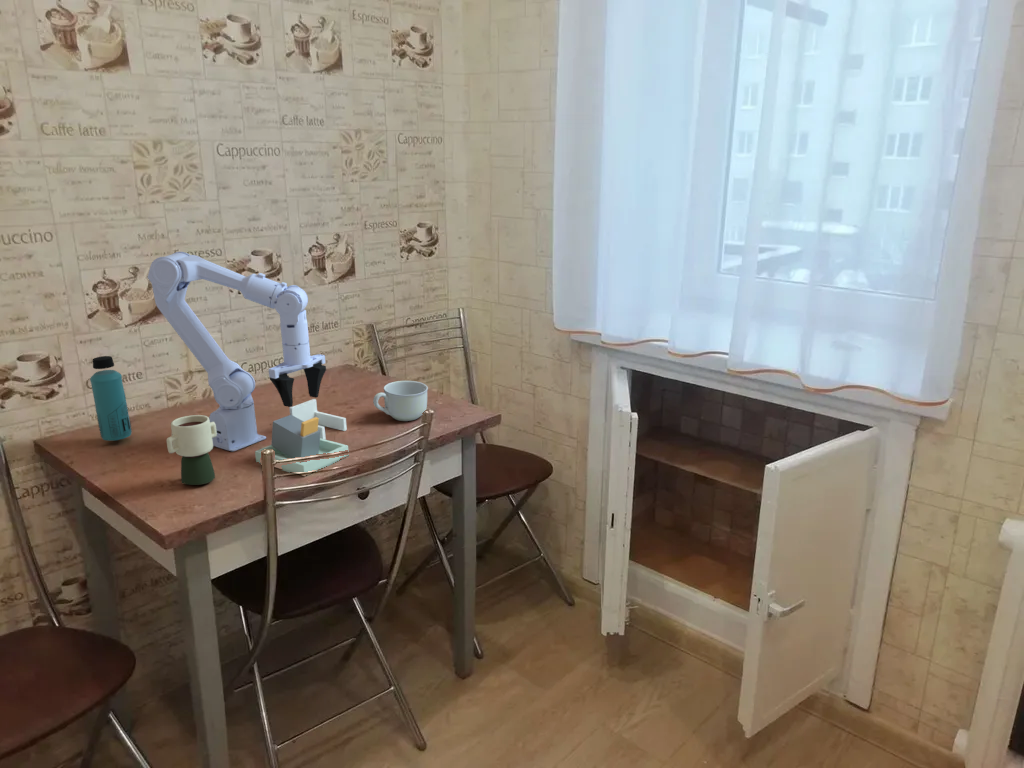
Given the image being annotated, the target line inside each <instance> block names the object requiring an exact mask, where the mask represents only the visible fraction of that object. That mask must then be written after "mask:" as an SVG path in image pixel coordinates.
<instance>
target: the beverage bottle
mask: <svg viewBox="0 0 1024 768" xmlns="http://www.w3.org/2000/svg"><path fill="white" fill-rule="evenodd" d="M114 366H115V363H114V360H113V356H109V355H103V356H101V355H100V356H97V357H94V358H93V359H92V368H93V369H95V370H98V371H95V373H93V375H91V376H90V378H89V380H90V381H89V382H90V386H91V389H92V390H91V391H92V395H93V401H94V409H95V413H96V420H97V424H98V430H99V434H100V437H101V439H102V440H103V441H108V442H110V441H119V440H124V439H127V438H129V437H130V436H132V431H133V429H132V422H131V419H130V414H129V409H128V408H129V407H128V403H127V397H126V392H125V388H124V383H123V376H122V374H121V373H120V372H119V371H117V370H114V369H110V368H113V367H114ZM103 369H104V370H103ZM99 370H100V371H99Z"/></svg>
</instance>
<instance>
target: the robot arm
mask: <svg viewBox="0 0 1024 768" xmlns="http://www.w3.org/2000/svg"><path fill="white" fill-rule="evenodd" d="M147 274H148V275H147V280H149V282H150V283H151V288H152V292H153V298H154V301H155V305H156V307H157V309H158V310H159V312H160V313H161V314H162V315H163V316H164V318H165V319H166V320H167V322H168V323H169V324H170V326H171V327H172V328H173V330H174V331H175V332H176V333H177V335H178V337H180V338H181V340H182V341H183V343H184V344H185V346H187V348H188V349H189V351H190V352H191V353H192V354H193V356H194V357H195V359H196V360H197V361H198V362H199V364H200V365H201V367H203V369H204V370H205V372H206V373H207V383H208V386H209V388H211V390H212V392H213V398H214V400H215V402H216V403H217V404H218V405H219V407H218V408H217V409H216V410H214V411H212V412H211V413H210V414H209V416H208V417H209V420H210V422H215V424H216V430H217V436H216V437H214V438H212V441H213V447H214V448H215V447H216V448H218V449H222V450H225V451H230V452H236V451H238V450H241V449H243V448H246V447H249V446H250V445H253V444H256V443H259V442H261V441H264V440H267V436H265V435H261V434H259V433H258V428H257V419H256V412H255V410H256V408H255V402H254V398H253V397H252V393H253V392H254V391H255V388H256V381H255V378H254V376H252V374H251V373H250V372H248V371H246V370H244V369H243V368H242V367H241V365H239V363H237V362H236V361H233V360H231V359H230V358H228V356H227V355H226V354H225V352H224V350H223V349H222V348H221V346H220V345H219V344H218V343H217V342H216V340H215V339H214V337H213V336H212V335H211V333H210V331H208V329H207V328H206V326H205V325H204V324H203V323H202V321H201V320H200V318H198V316H197V315H196V313H195V312H194V311H193V309H192V308H191V307H190V305H189V304H188V303H187V301H186V296H187V290H188V287H189V286H190V284H191V282H194V281H198V280H205V281H209V282H210V283H214V284H218V285H221V286H224V287H227V288H231V289H233V290H237V291H239V292H240V293H241V295H242V296H243V298H244V299H246V300H248V301H251V302H254V303H256V304H259V305H262V306H264V307H267V308H270V309H273V310H274V309H275V311H276V312H277V314H278V315H279V320H280V321H279V325H280V326H279V327H280V335H281V336H280V337H281V347H282V355H283V362H281V363H279V364H278V365H276V366H273V367H270V368H268V378H269V379H270V380H269V381H271V383H272V384H273V385H274V387H275V388H276V391H277V392H278V394H279V397H280V399H281V401H282V404H283V406H284V407H288V408H290V407H293V406H294V405H293V404H294V403H293V402H294V400H293V399H294V398H293V388H294V387H293V386H294V382H295V378H294V377H290V375H288V374H292V373H295V372H298V371H302V370H303V371H304V374H305V378H306V382H307V388H308V395H309V397H311V398H314V399H316V398H319V394H320V387H321V383H322V380H323V377H324V375H325V373H326V371H327V366H326V365H324V364H326V355H325V354H319V353H318V354H314V355H311V349H310V347H311V346H310V338H309V336H310V335H309V325H308V319H307V310H306V307H307V306H308V302H309V296H308V294H307V292H306V291H305V290H304V289H303V288H302V287H299V285H296V284H292V285H289V286H288V285H287V284H288V283H287V282H284V281H282V282H278V281H275V280H273V279H269V278H267V277H266V273H265V274H264V273H262V272H258V274H256V273H252V274H249V275H243V274H241V273H238V272H236V271H234V270H231V269H229V268H226V267H224V266H221V265H219V264H217V263H214V262H212V261H210V260H207V259H205V258H204V257H203V258H202V257H201V256H199V255H195V254H190V253H187V252H184V251H176V252H174V253H172V254H168V255H166V256H159V257H156V258H155V259H154V260H153V261H152V262H151V264H150V267H149V269H148V273H147ZM211 433H212V432H211Z"/></svg>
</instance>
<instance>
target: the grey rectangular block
mask: <svg viewBox="0 0 1024 768" xmlns="http://www.w3.org/2000/svg"><path fill="white" fill-rule="evenodd" d="M318 421H319V418H317V417H315V418H312V419H309V420H307V421H302V420H300V419H298V418H296V417H295V416H293V415H290V414H289V415H287V416H283V417H281V418H279V419H276V420H275V419H274V420H272V429H271V430H272V431H271V444H270V445H271V446H273V447H274V448H276V449H278V450H279V451H281V452H283V453H284V454H286V455H288V456H290V457H291V458H295V457H305V456H310V455H316V454H319V444H320V433H321V431H320V430H318ZM301 463H302V462H301Z"/></svg>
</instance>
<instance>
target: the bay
mask: <svg viewBox="0 0 1024 768" xmlns="http://www.w3.org/2000/svg"><path fill="white" fill-rule="evenodd" d="M288 408H289V415H293V416H295V417H296V418H298V419H300V420H302V421H307V420H309V419H312V418H315V417H317V418H319V421H318V430H320V431H321V433H320V438H322V439H325V440H327V438H326V430H325V427H327V428H330V429H334V430H340V431H343V432H345V431H347V418H346V417H343V416H339V415H335V414H330V413H326V412H321V411H319V410H318V405H317V399H316V398H312V399H310V400H307V401H304V402H302V403H298V404H296V405H292V407H288Z"/></svg>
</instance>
